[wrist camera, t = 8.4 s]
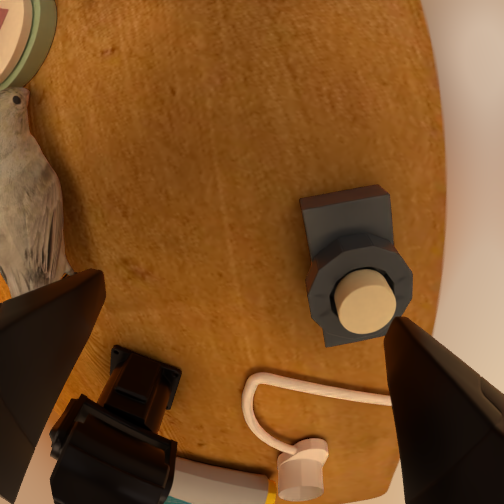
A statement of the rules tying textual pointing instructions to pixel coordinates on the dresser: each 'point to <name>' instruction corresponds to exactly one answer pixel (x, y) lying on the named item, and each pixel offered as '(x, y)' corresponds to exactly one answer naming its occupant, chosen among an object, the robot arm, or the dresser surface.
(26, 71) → the turntable base
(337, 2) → the dresser surface
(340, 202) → the button block
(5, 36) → the doll
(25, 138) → the decorative bird
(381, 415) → the dresser surface
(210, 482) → the soap bottle
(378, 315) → the button
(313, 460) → the toilet paper hanger
